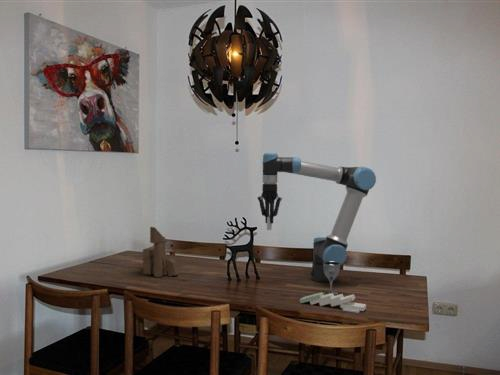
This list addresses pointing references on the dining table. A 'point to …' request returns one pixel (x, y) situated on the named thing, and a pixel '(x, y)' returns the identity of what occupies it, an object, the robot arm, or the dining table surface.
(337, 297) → the domino
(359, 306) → the domino
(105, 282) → the dining table surface
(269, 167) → the robot arm
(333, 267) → the wine glass
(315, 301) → the domino
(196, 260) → the dining table surface
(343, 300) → the domino
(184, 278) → the dining table surface
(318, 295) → the domino
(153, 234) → the wooden blocks
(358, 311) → the coaster
